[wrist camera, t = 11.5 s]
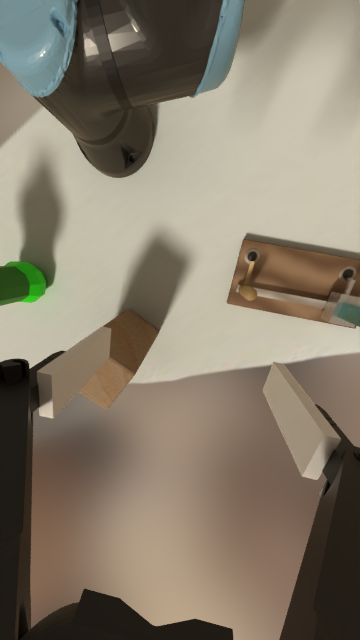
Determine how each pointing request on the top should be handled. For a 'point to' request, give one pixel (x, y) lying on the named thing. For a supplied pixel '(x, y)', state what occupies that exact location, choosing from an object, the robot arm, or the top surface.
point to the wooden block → (120, 358)
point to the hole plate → (290, 280)
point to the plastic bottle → (20, 283)
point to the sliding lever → (343, 307)
